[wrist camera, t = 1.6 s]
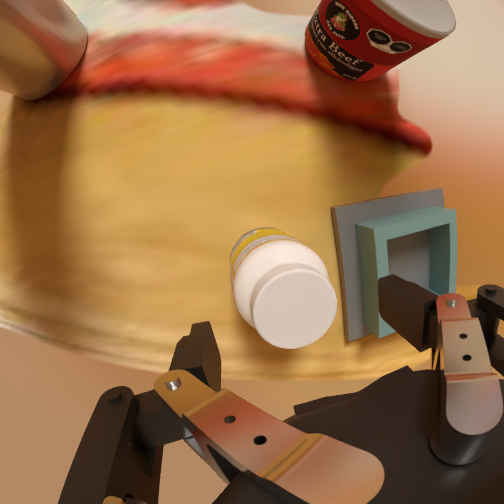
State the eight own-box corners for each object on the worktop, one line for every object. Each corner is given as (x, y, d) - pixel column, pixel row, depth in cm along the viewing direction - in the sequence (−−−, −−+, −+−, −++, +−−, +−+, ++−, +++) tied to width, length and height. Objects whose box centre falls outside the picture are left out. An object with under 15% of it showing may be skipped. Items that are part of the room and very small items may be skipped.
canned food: (285, 28, 17) (323, -53, 7) (351, 13, 17) (406, -47, 6) (333, 96, 19) (410, 40, 8) (395, 73, 19) (472, 33, 8)
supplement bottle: (295, 293, 22) (339, 358, 13) (228, 292, 22) (232, 364, 12) (301, 227, 21) (358, 255, 12) (231, 224, 21) (236, 251, 11)
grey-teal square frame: (330, 207, 21) (352, 211, 17) (435, 188, 22) (464, 190, 18) (344, 336, 24) (363, 358, 20) (438, 299, 24) (461, 313, 21)
